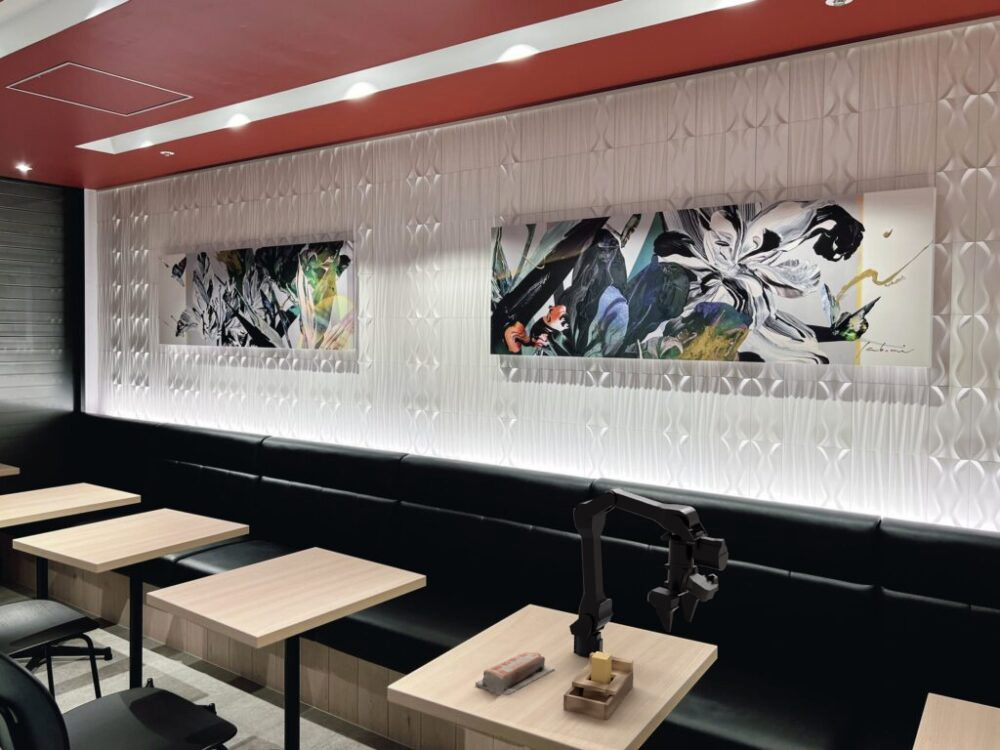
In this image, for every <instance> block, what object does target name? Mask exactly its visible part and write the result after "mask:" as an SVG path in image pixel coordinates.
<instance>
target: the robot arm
mask: <svg viewBox="0 0 1000 750" xmlns="http://www.w3.org/2000/svg"><path fill="white" fill-rule="evenodd" d="M614 508H616V509H620V510H623V511H625V512H629V513H632V514H634V515H638V516H641V517H643V518H645V519H650V520H651V521H654V522H656V523H658V524H659V526H660V527H662V528H663V529H665V530H667V531H666V532H665V533H664V534H663V535H661V536H660V539H661V540H662V541H667V542H669V543H668V563H665V564H664V569H665V570H667V572H668V573H667V580H666V581H663V586H664V587H667V588H668V589H667V588H664V587H661V586H659V587H656V588H654V589H651V590H650V591H649V592H647V603H650V605H651V606H653V607H654V609H655V611H656V612H657V614H658V617H659V620H660V621H661V624H662V626H663V628H664V631H665V632H667V633H670V632H671V630H672V624H673V617H674V612H675V610H677V609H678V608H680V605H678V604H679V603H680V597H681V601H682V602H681V603H682V608H683V612H684V617H685V620H686V622H689V623H690V622H692V619H693V616H694V614H695V611H696V608H697V605H698V604H699V601H701V602H704V603H705V602H707V601H708V600H712V599H713V598H714V595H715V593H716V592H717V591H719V589H720V588H719V578H718V576H717V575H715V574H714V573H711V574H709V575H707V576H706V575H705V574H703V575H701V574H699V568H698V566H700V567H705V568H710V569H714V570H718V571H724V570H725V569H726V568H727V565H728V560H729V552H728V547H727V545H726V540H725V539H724V538H713V537H708V532H707V530H706V529H705V527H704V526H703V524H702V523H701V521H700V518H699V515H698V513H697V510H696V509H695V508H694V507H692V506H689V505H683V504H673V503H672V504H671V503H670V504H668V503H662V502H659V501H656V500H652V499H649V498H647V497H644V496H640V495H637V494H636V493H631V492H628V491H626V490H623V489H622V488H619V487H614V488H611V489H607V490H606V491H605V492H604V493H601V494H600V495H599V496H597V497H595V498H593V499H590V500H587V501H584V502H581V503H579V504H577V505H576V506H575V507H574V508H573V512H572V513H573V514H572V515H573V521H574V526H575V529H576V530H577V532H578V534H579V536H580V539H581V559H582V576H583V577H582V578H583V581H582V582H583V596H582V598H581V601H580V603H579V608H578V616H577V617H578V618H577V619H576V620H574V621H573V622H572V623H571V624H570V625H569V631H570V634H571V635H573V654H576V655H577V656H579V657H582V658H590V654H591V653H592V652H593V653H596V652H597V651H598V652H603V653H604V648H603V647H604V646H603V645H604V639H603V637H602V630H604V629H605V627H606V625H607V624H608V623H609V622H610V621H611V618H612V616H613V615H614V612H613V608H612V607H613V600H612V598H607V597H606V595H605V592H604V585H603V584H604V583H603V562H602V561H603V559H602V541H601V540H602V539H601V536H602V533H603V530H604V527H605V524H606V517H607V516H606V515H607V513H608V512H610V511H611V510H614ZM691 531H692V532H691ZM695 564H696V565H695Z"/></svg>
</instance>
